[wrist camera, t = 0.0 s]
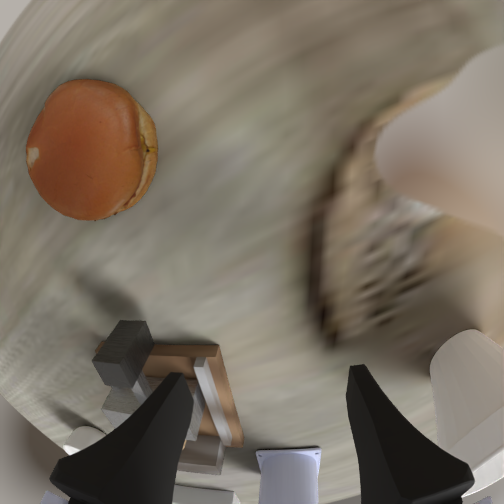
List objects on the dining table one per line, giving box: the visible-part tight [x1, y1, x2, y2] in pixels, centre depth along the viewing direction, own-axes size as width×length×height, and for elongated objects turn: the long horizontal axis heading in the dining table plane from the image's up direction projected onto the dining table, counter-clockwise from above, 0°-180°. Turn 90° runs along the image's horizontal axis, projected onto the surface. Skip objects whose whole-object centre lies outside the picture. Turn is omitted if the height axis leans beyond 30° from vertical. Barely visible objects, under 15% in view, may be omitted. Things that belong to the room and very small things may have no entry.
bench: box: [95, 341, 244, 475], centre depth 25 cm, size 15×12×6 cm
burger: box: [26, 79, 158, 221], centre depth 16 cm, size 10×9×5 cm
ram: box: [92, 320, 206, 441], centre depth 21 cm, size 9×8×5 cm
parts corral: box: [172, 485, 241, 504], centre depth 39 cm, size 10×16×4 cm, turn 97°
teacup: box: [63, 426, 106, 455], centre depth 32 cm, size 10×8×5 cm
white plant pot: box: [430, 329, 504, 497], centre depth 17 cm, size 12×12×14 cm
